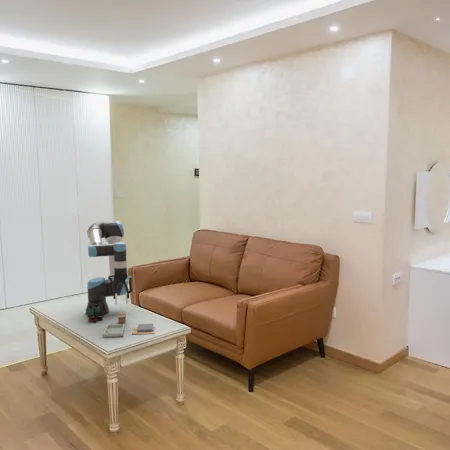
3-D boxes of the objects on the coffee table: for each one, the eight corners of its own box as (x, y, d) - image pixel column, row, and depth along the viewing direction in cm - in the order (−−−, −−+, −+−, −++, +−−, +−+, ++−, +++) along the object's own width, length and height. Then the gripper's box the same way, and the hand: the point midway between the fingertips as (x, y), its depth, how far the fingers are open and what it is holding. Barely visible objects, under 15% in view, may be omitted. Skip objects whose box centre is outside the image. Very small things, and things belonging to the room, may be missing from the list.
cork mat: (133, 328, 267) (133, 327, 267) (154, 327, 269) (154, 326, 269) (131, 334, 257) (131, 334, 256) (154, 333, 258) (154, 333, 258)
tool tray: (106, 328, 268) (106, 324, 268) (125, 327, 269) (125, 323, 269) (102, 337, 252) (102, 334, 252) (122, 336, 253) (122, 333, 253)
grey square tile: (138, 324, 269) (137, 329, 260) (153, 323, 271) (152, 329, 261) (138, 326, 270) (137, 332, 260) (153, 325, 271) (152, 331, 261)
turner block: (119, 321, 280) (119, 312, 280) (125, 321, 281) (125, 312, 280) (118, 326, 271) (118, 317, 270) (125, 326, 271) (124, 316, 271)
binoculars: (95, 309, 274) (85, 305, 279) (95, 325, 275) (85, 320, 281) (107, 305, 281) (97, 301, 286) (106, 321, 283) (96, 316, 288)
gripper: (104, 269, 267) (105, 306, 269) (135, 268, 269) (136, 304, 272) (105, 266, 274) (107, 302, 277) (136, 265, 277) (137, 301, 279)
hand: (121, 303), depth 274 cm, fingers open, 6 cm apart
